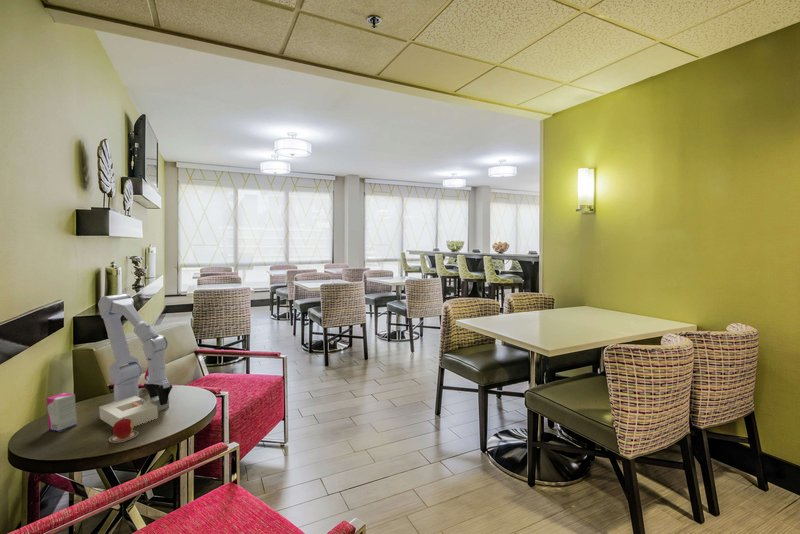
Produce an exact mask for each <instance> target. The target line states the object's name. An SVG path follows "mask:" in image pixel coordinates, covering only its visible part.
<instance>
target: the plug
mask: <svg viewBox="0 0 800 534" xmlns="http://www.w3.org/2000/svg"><path fill="white" fill-rule="evenodd" d="M169 399H170V397H169V396H168V401H167V404H165V405H160V402H159V397H158V396H156V397H152V398H150V397H149V400H148V401H149V402H148V403H152V404H154V405H156V406H157V411H158V412H159V411H163V410H166V409H169V408H170V400H169Z"/></svg>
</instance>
